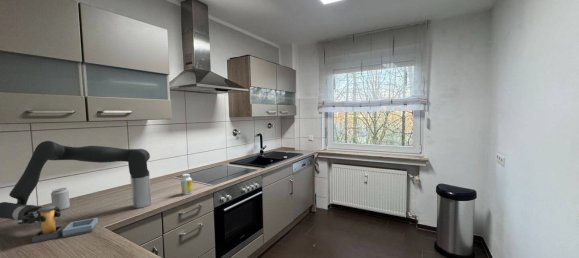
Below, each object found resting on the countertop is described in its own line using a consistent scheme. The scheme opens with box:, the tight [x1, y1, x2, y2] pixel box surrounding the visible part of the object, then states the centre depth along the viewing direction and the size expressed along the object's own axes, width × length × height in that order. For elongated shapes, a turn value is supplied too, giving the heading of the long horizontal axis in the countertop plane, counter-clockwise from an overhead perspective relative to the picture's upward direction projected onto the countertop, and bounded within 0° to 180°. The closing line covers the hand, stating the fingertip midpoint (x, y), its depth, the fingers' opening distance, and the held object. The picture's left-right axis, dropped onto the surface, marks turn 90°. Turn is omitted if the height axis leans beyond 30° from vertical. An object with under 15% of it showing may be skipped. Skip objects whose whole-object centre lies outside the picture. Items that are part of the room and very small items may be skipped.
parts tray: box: [62, 217, 99, 238], centre depth 110 cm, size 10×10×3 cm
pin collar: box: [31, 224, 66, 243], centre depth 105 cm, size 8×8×2 cm
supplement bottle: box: [180, 173, 193, 196], centre depth 160 cm, size 7×7×13 cm
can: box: [50, 187, 71, 211], centre depth 140 cm, size 8×8×12 cm
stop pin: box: [38, 204, 57, 234], centre depth 105 cm, size 5×5×13 cm
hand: (51, 216), depth 104 cm, fingers open, 4 cm apart
